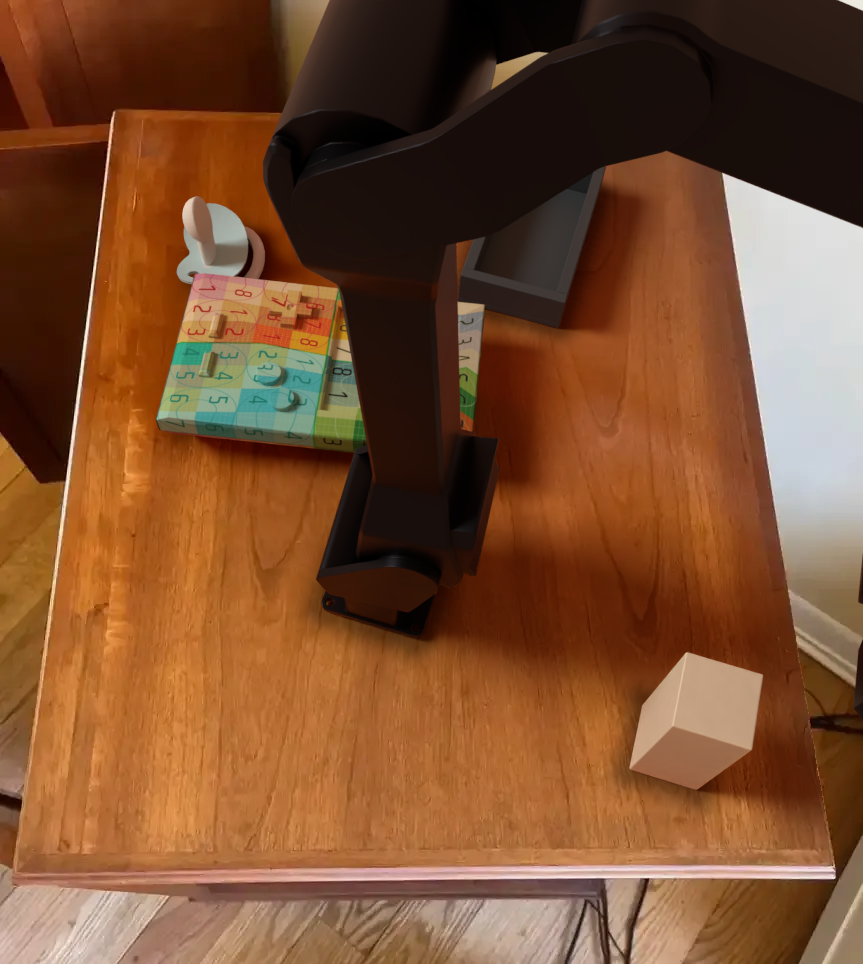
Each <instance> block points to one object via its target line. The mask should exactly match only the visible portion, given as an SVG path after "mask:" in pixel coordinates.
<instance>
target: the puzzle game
mask: <svg viewBox="0 0 863 964" xmlns="http://www.w3.org/2000/svg"><path fill="white" fill-rule="evenodd" d="M193 277H194V278H193V281H192V284H190V285H191V286H190V289H189V293H188V297H187V300H186V304H185V309H184V311H183V315H182V319H181V323H180V327H179V331H178V334H177V338H176V342H175V346H174V349H173V353H172V357H171V361H170V365H169V368H168V372H167V375H166V379H165V382H164V387H163V390H162V394H161V398H160V402H159V406H158V409H157V413H156V417H155V422H156V425H157V428H158V430H159V431H162V432H167V433H170V434H176V435H183V436H184V435H185V436H192V437H193V436H194V437H203V438H212V439H220V440H221V439H222V440H230V441H232V440H233V441H240V442H250V443H259V444H268V445H277V446H278V445H279V446H288V447H297V448H306V449H315V450H323V451H335V452H342V453H353V454H354V452H355V449H356V448H359V447H362V446H366V445H367V441H366V435H365V430H364V424H363V419H362V413H361V408H360V402H359V397H358V391H357V386H356V380H355V375H354V369H353V364H352V358H351V353H350V347H349V342H348V336H347V331H346V325H345V320H344V314H343V309H342V303H341V298H340V292H339V289H338V287H331V286H330V287H329V286H320V285H311V284H303V283H295V282H285V281H279V280H278V281H276V280H267V279H260V278H259V279H251V278H243V277H242V276H236V277H234V276H225V275H216V274H207V273H202V274H193ZM485 313H486V309H485V305H482V304H473V303H463V302H458V337H459V379H460V422H461V429H463V430H467V431H471V432H475V431H474V430H475V421H476V410H477V400H478V390H479V389H478V388H479V379H480V369H481V357H482V348H483V347H482V346H483V335H484V324H485V315H486V314H485Z"/></svg>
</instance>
